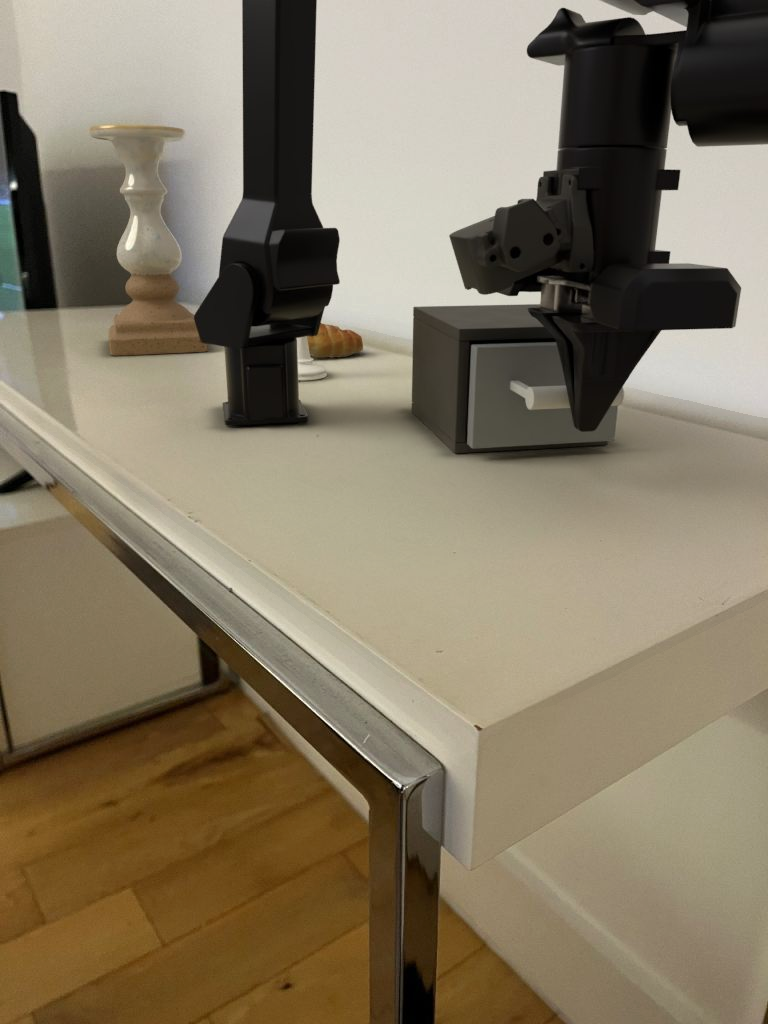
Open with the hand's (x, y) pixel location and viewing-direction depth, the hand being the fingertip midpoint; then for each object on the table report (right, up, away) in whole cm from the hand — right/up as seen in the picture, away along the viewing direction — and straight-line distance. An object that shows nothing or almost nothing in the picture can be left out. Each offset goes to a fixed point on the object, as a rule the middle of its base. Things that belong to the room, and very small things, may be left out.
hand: (584, 430), depth 50 cm
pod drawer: (-2, +1, +10) cm, 10 cm away
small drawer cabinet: (-3, +2, +14) cm, 15 cm away
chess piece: (-20, +9, +33) cm, 40 cm away
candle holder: (-39, +15, +49) cm, 65 cm away
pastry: (-20, +13, +44) cm, 50 cm away
